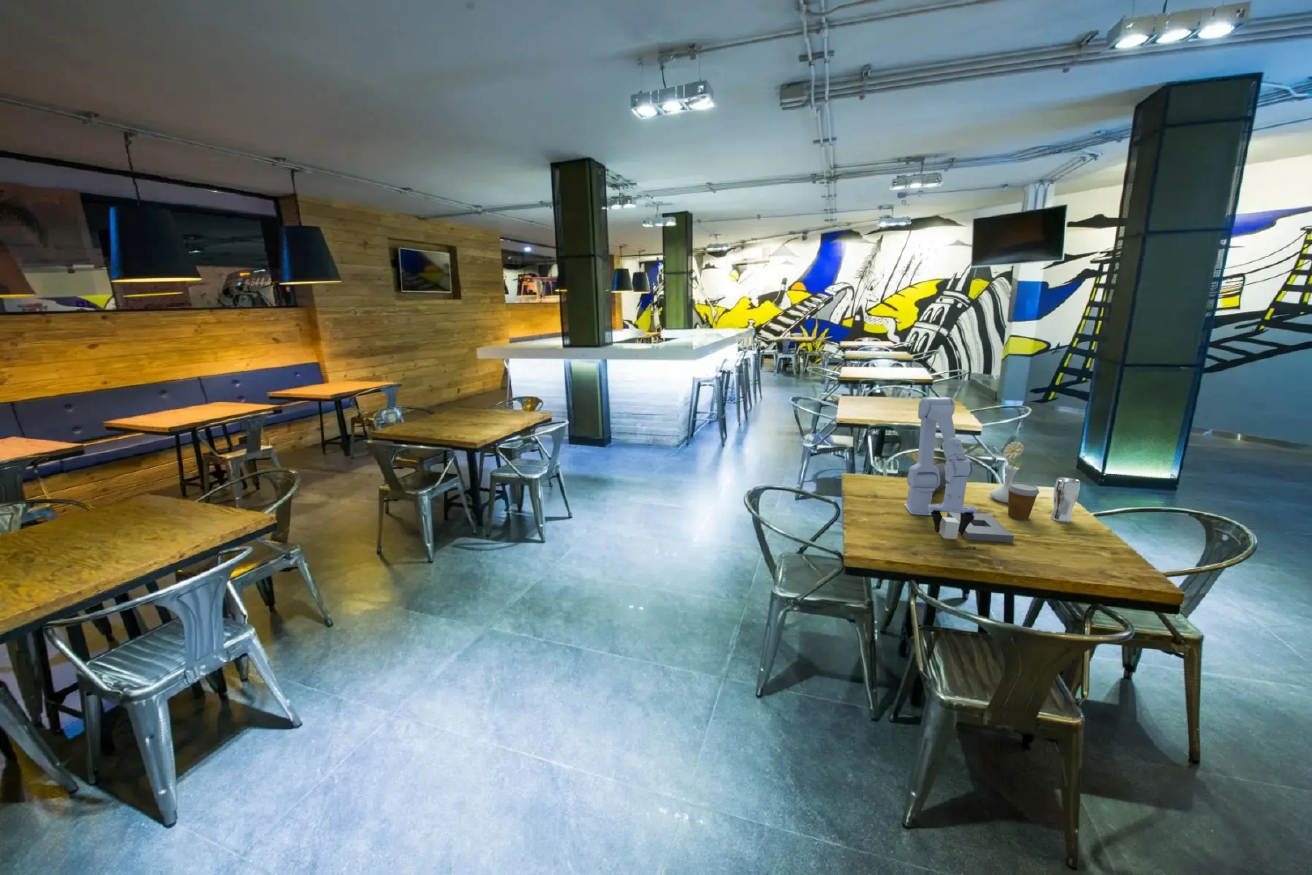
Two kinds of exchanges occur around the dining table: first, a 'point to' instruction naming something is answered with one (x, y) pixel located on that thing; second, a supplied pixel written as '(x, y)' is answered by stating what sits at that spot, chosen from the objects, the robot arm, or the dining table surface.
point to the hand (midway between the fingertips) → (948, 532)
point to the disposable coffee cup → (1021, 499)
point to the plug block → (949, 528)
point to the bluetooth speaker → (941, 475)
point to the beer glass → (1065, 498)
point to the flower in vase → (1008, 470)
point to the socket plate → (984, 528)
